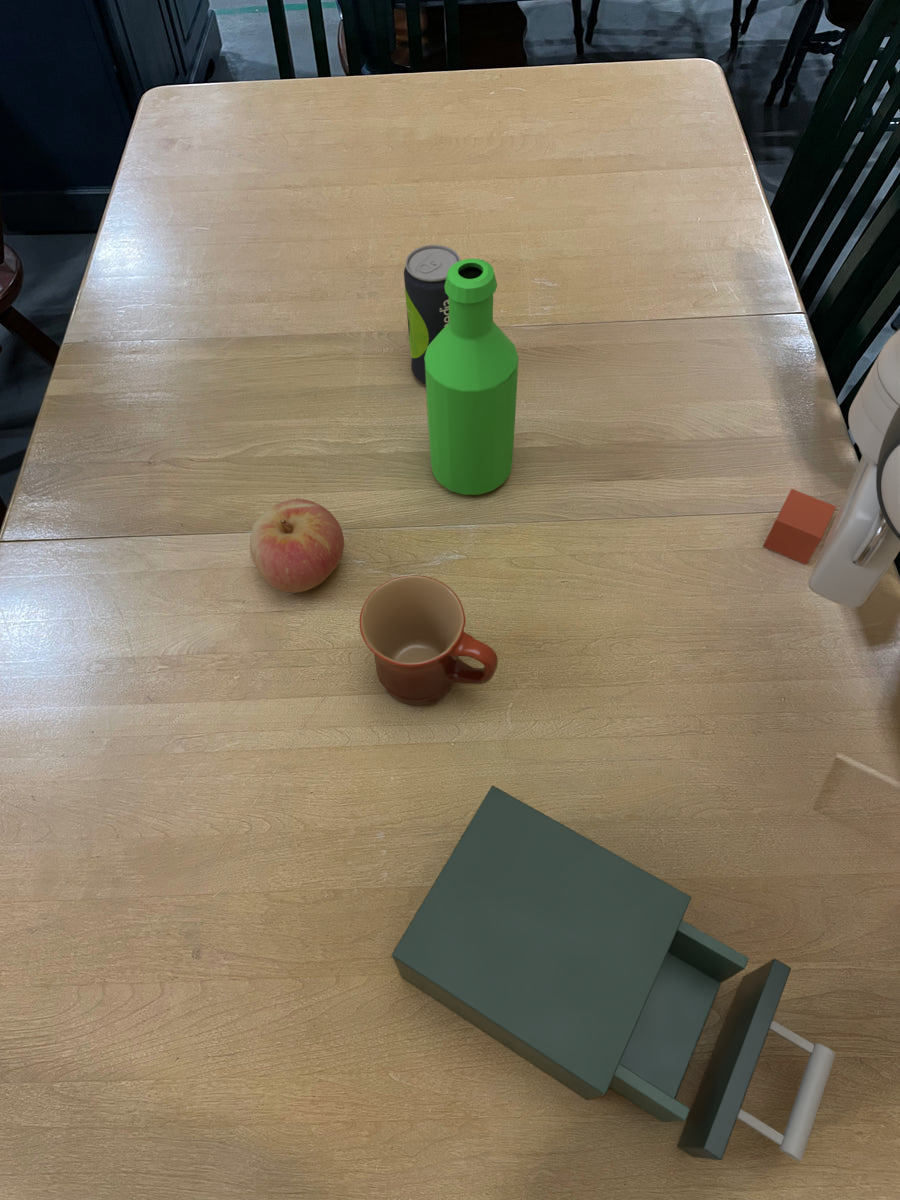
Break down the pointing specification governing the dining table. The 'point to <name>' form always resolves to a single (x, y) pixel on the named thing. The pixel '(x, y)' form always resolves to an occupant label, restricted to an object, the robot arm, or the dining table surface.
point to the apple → (296, 545)
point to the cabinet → (542, 941)
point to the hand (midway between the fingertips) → (844, 540)
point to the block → (799, 526)
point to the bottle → (471, 386)
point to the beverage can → (426, 299)
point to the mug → (421, 640)
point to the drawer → (675, 1031)
